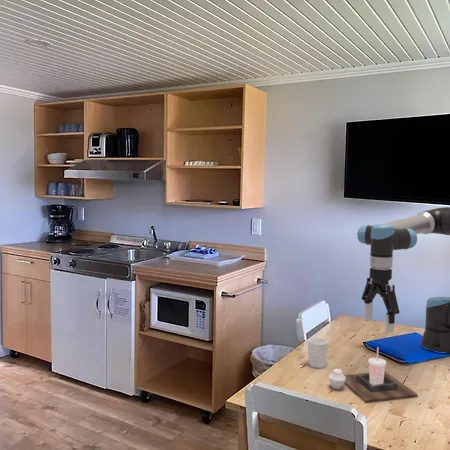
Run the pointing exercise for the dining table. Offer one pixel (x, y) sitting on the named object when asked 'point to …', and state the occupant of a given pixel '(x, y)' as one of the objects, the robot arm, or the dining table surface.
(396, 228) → the robot arm
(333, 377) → the white lidded jar
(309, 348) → the white cup
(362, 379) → the cup holder
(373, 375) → the beverage cup
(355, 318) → the dining table surface
